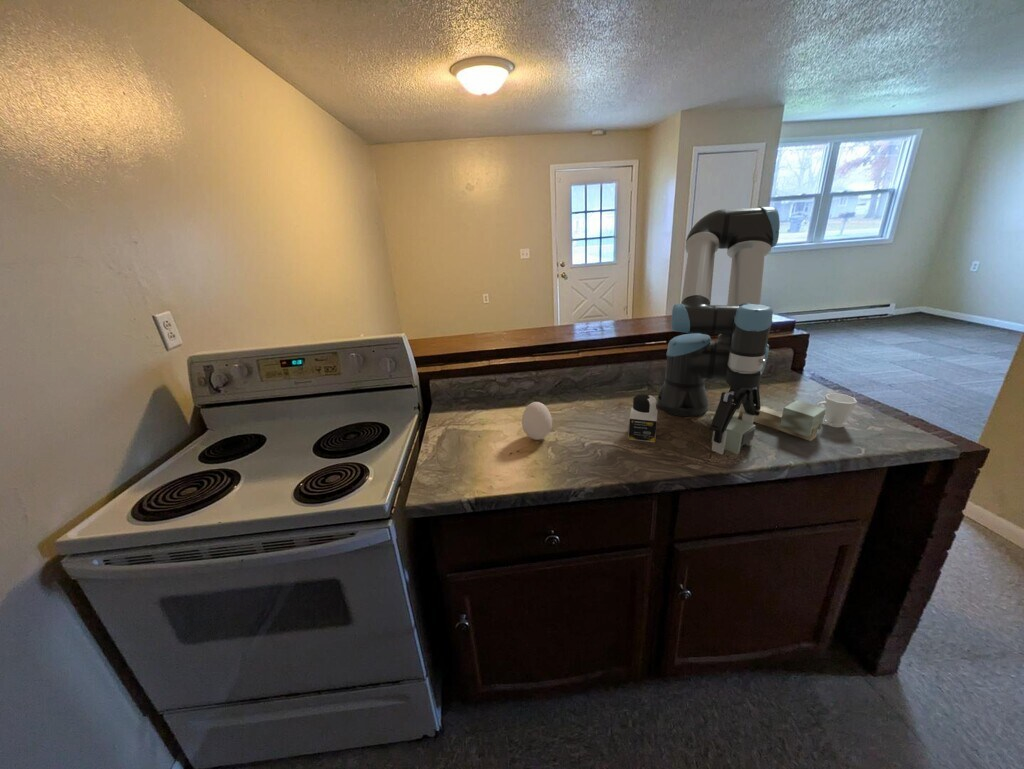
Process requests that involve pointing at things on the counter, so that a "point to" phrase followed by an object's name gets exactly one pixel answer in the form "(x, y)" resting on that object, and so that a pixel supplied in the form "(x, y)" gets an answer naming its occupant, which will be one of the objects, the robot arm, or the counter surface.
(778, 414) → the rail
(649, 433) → the medicine bottle
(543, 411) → the egg
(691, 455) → the counter surface
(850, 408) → the cup
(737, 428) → the block
